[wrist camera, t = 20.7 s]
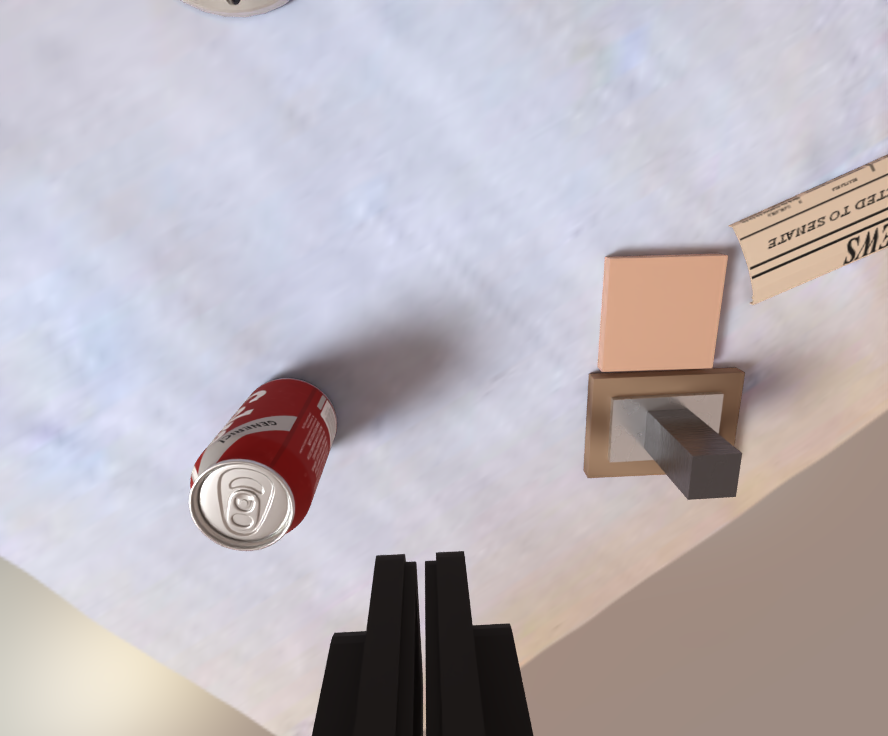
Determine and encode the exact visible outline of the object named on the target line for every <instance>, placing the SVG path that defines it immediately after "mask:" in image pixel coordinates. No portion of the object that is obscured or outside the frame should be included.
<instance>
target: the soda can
mask: <svg viewBox="0 0 888 736" xmlns="http://www.w3.org/2000/svg"><path fill="white" fill-rule="evenodd" d="M336 431H337V417H336V413H335V409H334V407H333V405H332V403H331V401H330V400H329V399H328V397H327V396H326V395H325V394H324V393H323V392H322V391H321V390H320V389H318V388H317V387H316V386H314V385H312V384H310V383H308V382H306V381H303V380H299V379H293V378H281V379H275V380H272V381H269V382H267V383H265V384H263V385H261V386H260V387H258V388H257V389H256V390H255V391H254V392H253V393H252V394H251V395H250V397H249V398H248V399H247V400H246V401H245V402H244V404H243V405H242V406H241V407H240V408H239V410H238V411H237V412H236V413H235V414H234V416H233V417H232V418H231V419H230V420H229V422H228V423H227V424H226V425H225V426H224V428H223V429H222V430H221V431H220V432H219V434H218V435H217V436H216V437H215V438H214V439H213V441H212V442H211V443H210V444H209V445H208V447H207V448H206V449H205V450H204V451H203V453H202V454H201V455H200V457H199V458H198V459H197V461H196V463H195V465H194V468H193V470H192V474H191V482H190V487H191V492H190V496H189V508H190V513H191V516H192V518H193V521H194V522H195V524H196V526H197V527H198V528H199V530H200V531H201V532H202V533H203V534H204V535H205V536H206V537H208V538H209V539H210V540H212V541H213V542H215V543H217V544H219V545H221V546H223V547H226V548H229V549H233V550H240V551H253V550H259V549H263V548H266V547H268V546H270V545H272V544H274V543H276V542H277V541H278V540H280V539H281V538H282V537H283V536H284V535H285V534H287V533H288V532H290V531H291V530H293V529H294V528H295V527H296V526H298V525H299V524H300V523H301V521H302V520H303V519H304V517H305V516H306V514H307V512H308V510H309V508H310V505H311V502H312V500H313V497H314V494H315V491H316V488H317V486H318V483H319V480H320V477H321V474H322V472H323V469H324V466H325V463H326V460H327V457H328V455H329V452H330V449H331V446H332V443H333V441H334V438H335V435H336Z"/></svg>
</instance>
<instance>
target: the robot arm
mask: <svg viewBox="0 0 888 736" xmlns="http://www.w3.org/2000/svg"><path fill="white" fill-rule="evenodd" d="M181 1H182V2H184V3H186V4H188V5H190V6H193V7H195V8H197V9H199V10H201V11H203V12H207V13H212V14H216V15H220V16H224V17H249V16H254V15H259V14H265V13H267V12H269V11H272V10H274V9H276V8H278V7H281V6H283V5H285V4H286V3H287V2H289V1H290V0H240V2H239V3H238V5H235V4H234V0H181ZM425 632H426V736H533V732H532V727H531V722H530V717H529V712H528V707H527V702H526V697H525V692H524V688H523V682H522V677H521V672H520V667H519V662H518V658H517V653H516V648H515V643H514V638H513V633H512V629H511V626H510V624H492V625H472V616H471V608H470V599H469V590H468V582H467V573H466V564H465V556H464V551H458V552H438V553H436V561H425ZM312 736H423V672H422V654H421V636H420V618H419V600H418V582H417V565H416V562H406V558H405V554H398V555H378V556H376V560H375V568H374V576H373V583H372V591H371V599H370V607H369V615H368V623H367V630H366V631H361V632H342V633H334V635H333V637H332V640H331V644H330V649H329V654H328V659H327V664H326V669H325V673H324V678H323V683H322V688H321V693H320V698H319V703H318V708H317V713H316V718H315V723H314V728H313V733H312Z"/></svg>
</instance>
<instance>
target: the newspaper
mask: <svg viewBox="0 0 888 736" xmlns="http://www.w3.org/2000/svg"><path fill="white" fill-rule="evenodd" d="M729 226H730V227H733V229H734V231H735V234H736V236H737V238H738V240H739V242H740V245H741V248H742V251H743V254H744V257H745V260H746V263H747V265H748V269H749V274H750V279H751V284H752V289H753V297H752V299H753V302H751V303H750V304H752V305H754V304H757V303H759V302H761V301H764V300H766V299H768V298H771V297H773V296H775V295H778V294H780V293H782V292H785V291H787V290H789V289H792V288H794V287H796V286H799V285H801V284H803V283H806V282H808V281H810V280H812V279H815V278H817V277H819V276H822V275H824V274H826V273H829V272H831V271H833V270H836V269H838V268H840V267H843V266H845V265H847V264H850V263H852V262H854V261H857V260H859V259H861V258H864V257H866V256H868V255H871V254H873V253H875V252H878V251H880V250H882V249H885V248H887V247H888V155H886V156H884V157H881V158H879V159H877V160H875V161H872V162H870V163H868V164H866V165H863V166H861V167H859V168H857V169H854V170H852V171H850V172H848V173H845V174H843V175H841V176H839V177H836V178H834V179H832V180H830V181H828V182H825V183H823V184H821V185H819V186H816V187H814V188H812V189H810V190H807V191H805V192H803V193H801V194H798V195H796V196H794V197H792V198H789V199H787V200H785V201H783V202H780V203H778V204H776V205H774V206H772V207H769V208H767V209H765V210H763V211H760V212H758V213H756V214H754V215H751V216H749V217H747V218H745V219H742V220H740V221H738V222H736V223H733V224H731V225H729Z"/></svg>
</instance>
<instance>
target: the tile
mask: <svg viewBox="0 0 888 736" xmlns="http://www.w3.org/2000/svg"><path fill="white" fill-rule="evenodd" d="M727 259H728V255H724V254H685V255H650V256H615V257H605V264H604V279H603V294H602V308H601V323H600V338H599V352H598V368H599V369H600V370H601V371H602V372H612V371H642V370H672V369H702V368H712V367H713V360H714V353H715V346H716V339H717V331H718V324H719V317H720V310H721V303H722V295H723V288H724V281H725V274H726V267H727Z"/></svg>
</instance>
